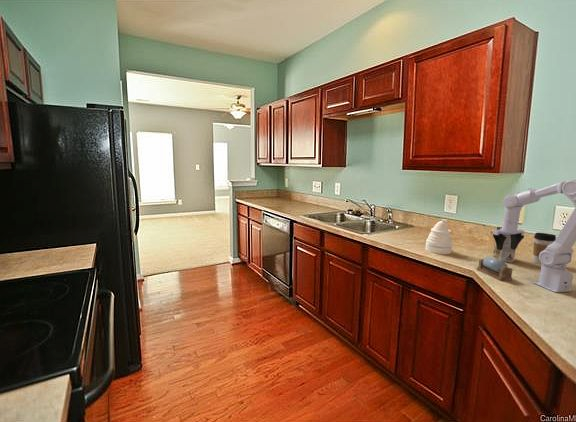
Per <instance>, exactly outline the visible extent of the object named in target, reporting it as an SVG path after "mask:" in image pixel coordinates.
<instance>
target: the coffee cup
mask: <svg viewBox="0 0 576 422" xmlns="http://www.w3.org/2000/svg"><path fill="white" fill-rule="evenodd" d="M533 238H534V241H533V256H532V262H533V263H534V264H535V263H536V264H537V265H542V264H541V261H540V260H539V254H540V252H542V251H543V250H545V249H546V248H547V246H548V245H550V244H552V243H553V242H554V241H555V240H556V238H557V235H556V234H553V233H551V234H550V233H547V232H546V233H545V232H535V234H534V236H533Z"/></svg>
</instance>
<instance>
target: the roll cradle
mask: <svg viewBox="0 0 576 422" xmlns="http://www.w3.org/2000/svg"><path fill="white" fill-rule="evenodd" d="M484 259H485V258H483V259H482V258H480V259H478V266H477V268H476V270H477V271H478V272H481V273H483V274H485V275H487V276H490V277H492V278H493V279H494V280H495V279H496V280H497V281H501V282H502V281H503V282H504V281H512V280H513V277H512V275H513V268H512V267H508V268H500V272H499V273H497V272H495V271H493V270H491V269H489V268H487V267H485V266H484V265H483V260H484Z"/></svg>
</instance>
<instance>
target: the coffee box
mask: <svg viewBox="0 0 576 422" xmlns="http://www.w3.org/2000/svg"><path fill="white" fill-rule="evenodd" d="M500 228H502V226H497V227H496V230H499V229H500ZM504 236H505V237H507V238H506V239H505V241H504V244H503V248H502V250H498V249H497V247H496V242H495V241H494V245H493V253H492V256H493V258H494V259H495V258H496V260H499V261H501V262H503V263H507V262H508V263H514V261H515V255H516V250H513V249H511V247H510V246H511V236H510V234H509V235H504Z"/></svg>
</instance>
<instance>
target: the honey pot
mask: <svg viewBox="0 0 576 422" xmlns="http://www.w3.org/2000/svg"><path fill="white" fill-rule="evenodd" d="M447 221H448V219H445V218H442V219H441V220H440V221H438V222H437V223H435V224H434V225H433V226H434V227H432V228H431V229H430V233H429V234H428V236H427V238H426V242H425V250H426V251H427V252H429V253H432V252H433V253H432V254H437V253H438V255H450V254H451V253H452V248H453V241H452V239H451V238H452V236H451V235H450V234H451V233H452V230H450V229H449V228H448V226H447V224H446V223H447ZM449 253H450V254H449Z"/></svg>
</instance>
